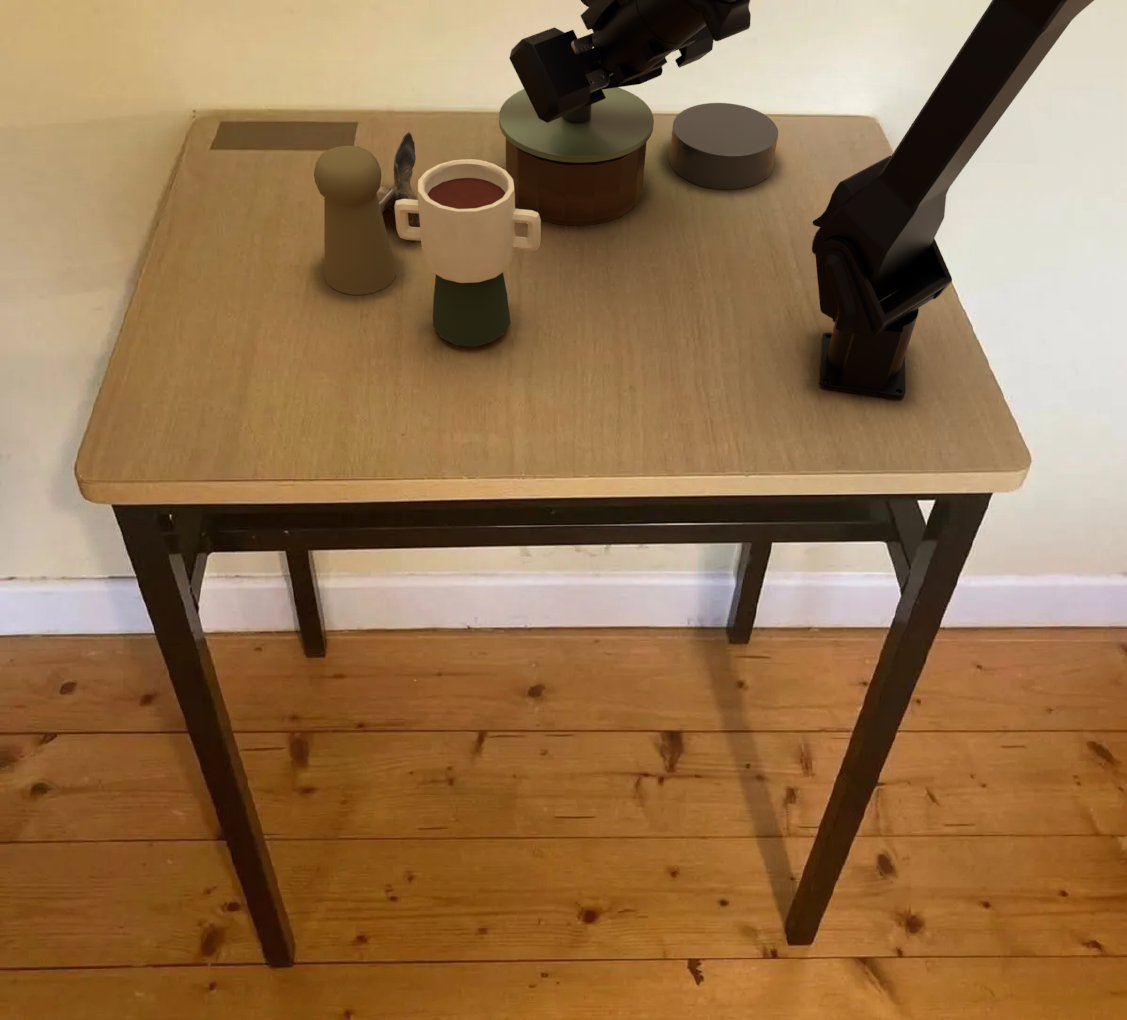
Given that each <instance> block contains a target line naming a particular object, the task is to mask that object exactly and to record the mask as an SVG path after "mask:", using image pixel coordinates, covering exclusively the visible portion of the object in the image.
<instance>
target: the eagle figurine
mask: <svg viewBox="0 0 1127 1020" xmlns="http://www.w3.org/2000/svg"><path fill="white" fill-rule="evenodd" d="M415 146H416V145H415V141H414V138H413V136H412V134H411V132H410V131H408V132H406V133H405V134H404V135H403V137H402V140H401V142H400V143H399V146H398V148H397V150H396V152H395V156H394V161H393V181H394V182H393V186H392V187H389V186H380V188H379V190H378V191H377V197H378V201H379V205H380V208H381V212H382V213H383V212H384V211H385V210H386V209H389V210H390V211H393V212H394V213H395V208H394V206H395V202H396V201H397V200H401V199H412V200H418V196H417V195H416V194H415V193H414V192H413V190H412V185H411V179H412V178H413V170H414V167H415V164H416V158H417V156H416V147H415ZM408 222H409V226H410V227H420V218H419V214H418V213H408ZM409 241H410V242H411V243H413V242H414V241H415V240H409Z"/></svg>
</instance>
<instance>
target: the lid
mask: <svg viewBox="0 0 1127 1020" xmlns="http://www.w3.org/2000/svg"><path fill="white" fill-rule="evenodd" d="M602 91H603V93H604V95H605V97H606V98H605V99H603V100H601V101H599V102H596V103H594V104H591V105H589V106H587V107H584V108H579V109H577V110H575V111H574V112H572V113H570V114H567V115H565V116H563V117H560V118H558V119H555V120H553V121H551V122H548V123H547V122H545V121H543V120H541V119H539V118H538V116H537V114H536V112H535V110H534V108H533V106H532V104H531V101H530V99H529V97H528V95H527V93H526V91H525V89H524V88H522V89H521V90H519V91H516V93H513V94H512V95H511V96H510V97H508V98H506V100H505V101H504V102H503V104H502V106H501V107H500V109H499V112H498V126H499V129H500V131H501V133H502V135H503V137H504V139H505V138H506V139H507V140H508V141H509V142H510V143H512V144H513V145H514V146H516V147H517V148H519V149H521V150H523V151H525V152H527V153H530V154H532V155H535V156H538V157H541V158H545V159H549V160H555V161H561V162H576V163H585V162H598V161H605V160H610V159H614V158H618V157H621V156H624V155H626V154H629V153H631V152H633V151H635V150H637V149H638V148H640V147H641V146H642V145H644V144H645V143H646V144H647V142H648V141H649V140H650V138H651V136H652V134H653V131H654V127H655V119H654V114H653V111H652V109H651V108H650V106H649V105H648V104H647V103H646V102H645V101H644V100H642V98H641V97H639V96H637V95H636V94H634V93H632V92H630V91H628V90H626V89H624V88H622V87H617V88H610V89H603V90H602Z"/></svg>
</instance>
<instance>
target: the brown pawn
mask: <svg viewBox="0 0 1127 1020" xmlns="http://www.w3.org/2000/svg"><path fill="white" fill-rule="evenodd" d="M313 177H314V183H315V185H316V187H317V189H318V192H319V194H320V195H321V196H322V197H323V198H324V199H323V201H324V205H323V206H324V207H323V210H324V211H323V212H324V214H323V215H324V217H323V218H324V221H323V223H324V224H323V225H324V227H323V230H324V231H323V232H324V233H323V234H324V235H323V236H324V237H323V238H324V239H323V240H324V241H323V242H324V249H323V250H324V253H323V255H324V263H323V264H324V279H325V282H326V284H327V285H328V286H329V287H330V288H331V289H333V290H335V291H337V292H339V293H342V294H347V295H352V296H359V295H361V296H363V295H369V294H373V293H377V292H379V291H383V290H384V289H385V288H387V287H389V285H391V284H392V283H393V282H394V280H395V278H396V277H397V266H396V263H395V259H394V254H393V251H392V247H391V243H390V239H389V236H388V232H387V229H386V224H385V221H384V217H383V212H381V208H380V205H379V201H378V197H377V191H378V190H379V188H380V187H381V183H382V169H381V166H380V162H379V161H378V159H377V158H376V156H375V155H374V154H373V153H372V152H371V151H370V150H368V149H366V148H364V147H361V146H356V145H340V146H335V147H332V148H329V149H327V150H326V151H324V152H323V153H321V154H320V155H319V156H318V158H317V160H316V162H315V165H314V171H313Z"/></svg>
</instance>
